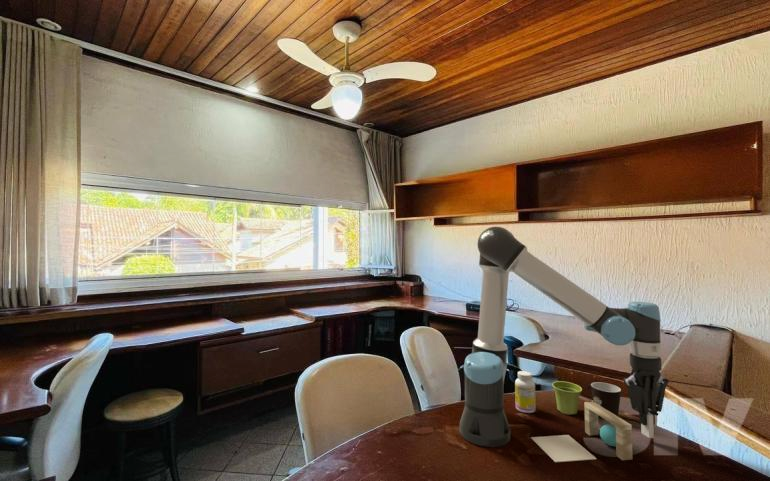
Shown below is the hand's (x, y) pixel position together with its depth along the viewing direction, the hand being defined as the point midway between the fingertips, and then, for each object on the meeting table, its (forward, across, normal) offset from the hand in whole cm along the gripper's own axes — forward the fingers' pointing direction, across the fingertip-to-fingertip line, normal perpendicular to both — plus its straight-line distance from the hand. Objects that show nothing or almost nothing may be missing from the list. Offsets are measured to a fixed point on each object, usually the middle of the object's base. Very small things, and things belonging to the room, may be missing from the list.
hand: (647, 435), depth 101 cm
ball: (-1, -12, 0) cm, 12 cm away
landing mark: (+2, -27, 0) cm, 27 cm away
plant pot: (+2, -11, +21) cm, 24 cm away
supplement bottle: (+2, -25, +24) cm, 35 cm away
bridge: (+2, -13, 0) cm, 13 cm away
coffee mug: (+2, 0, +17) cm, 17 cm away
